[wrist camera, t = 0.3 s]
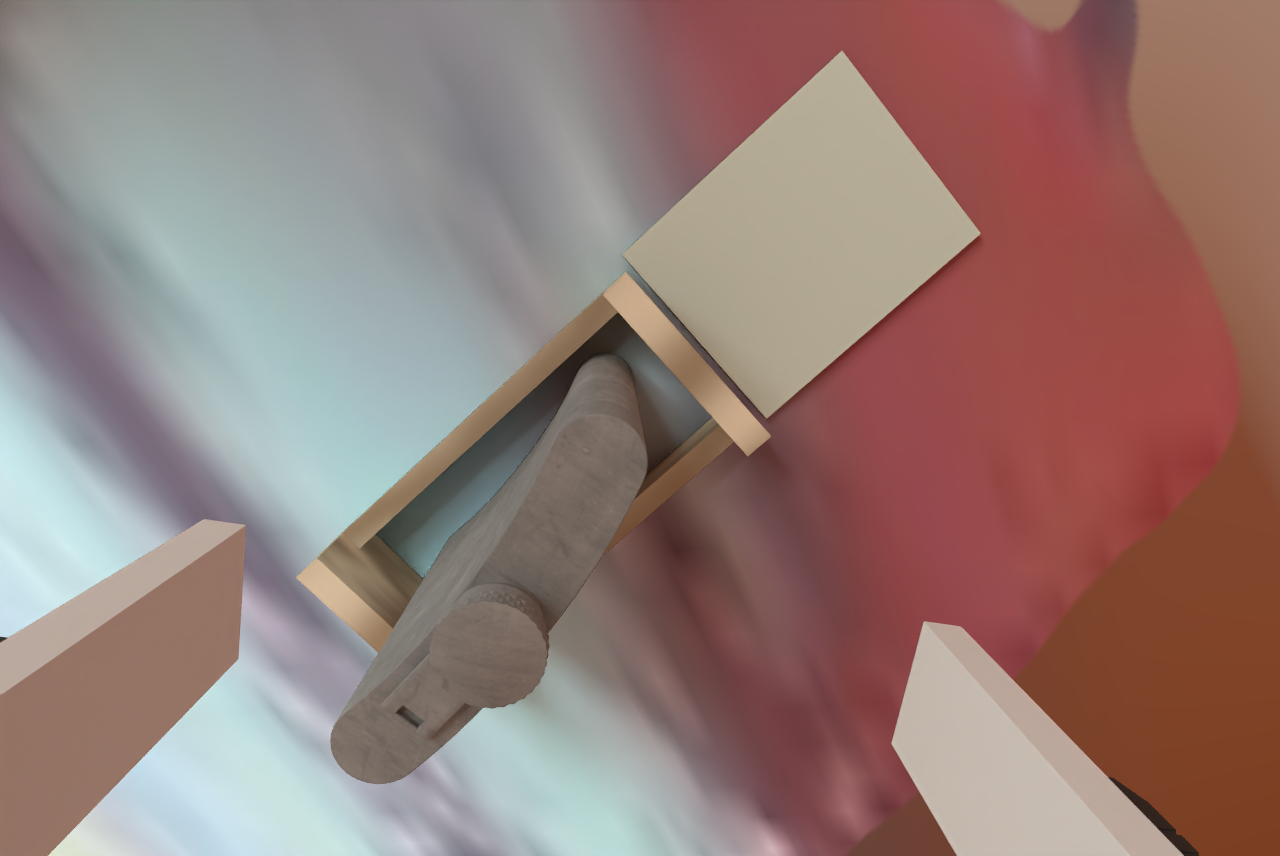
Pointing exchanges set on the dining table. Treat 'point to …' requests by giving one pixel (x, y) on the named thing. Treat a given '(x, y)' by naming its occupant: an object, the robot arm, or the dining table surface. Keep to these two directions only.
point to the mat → (802, 237)
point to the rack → (364, 564)
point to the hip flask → (501, 583)
